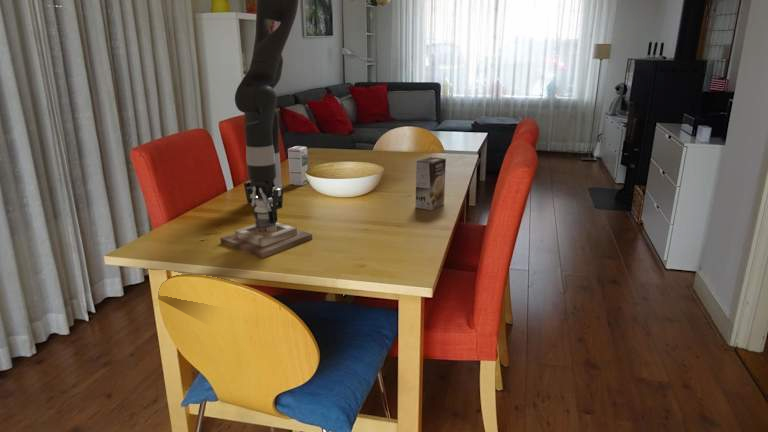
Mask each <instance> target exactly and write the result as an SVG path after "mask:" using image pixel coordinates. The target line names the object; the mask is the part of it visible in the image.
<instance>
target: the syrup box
mask: <svg viewBox="0 0 768 432" xmlns="http://www.w3.org/2000/svg"><path fill="white" fill-rule="evenodd" d="M287 155H288V169H289V170H288V171H289V172H288V173H289V183H290V185H292V184H293V186H304V185H306V184H308V183H309V182H308V181H307V178H306V176H305V172H306V171H307V170H309V171H310V169H309V156H308V147H307V146H301V145H296V146H293V147H289V148H287ZM307 182H308V183H307Z"/></svg>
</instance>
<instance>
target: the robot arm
mask: <svg viewBox="0 0 768 432" xmlns="http://www.w3.org/2000/svg"><path fill="white" fill-rule="evenodd" d="M298 6H299V0H256V16H255V17H256V18H255V37H254V46H253V51H252V57H251V61H250V66H249V69H248V71H247V72H246V73H245V75H244V77H243V78H242V80H241V81H240V83H239V85H238V86H237V88H236V90H235V93H234V103H235V106H236V108H237V110H238V111H240V112H241V113H244V116H243V117H244V121H243V122H244V136H245V149H246V150H245V159H246V160H245V161H246V169H247V179H248V180H249V181H246V182H244V183H243V187H244V192H245V197H246V202H247V204H251V206H252V207H253V209H252V210H253V211H254V209H255V207H256V206H257V205H256V201H255V200H256V199H257V198H262V199H263V200H264V203H265V204H267V207H268V210H269V211H268V213H269V223H270V224H274V223H276V222H278V210H280V209H282V208H283V203H284V202H283V200H284V188H283V185H282V171H281V170H282V169H281V156H280V117H279V112H278V109H277V103H278V98H277V97H278V96H277V93H276V91H275V90H274V88H276V86H277V85H278V84H279V82H280V80H281V77H282V71H283V64H284V58H283V54H282V53H283V51H284V49H285V46H286V43H287V41H288V39H289V36H290V34H291V30H292V27H293V25H294V22H295V20H296V15H297V12H298V8H299V7H298ZM269 20H270V21H274V22H277V23H280V24H279V25H278V26H277V28H276V29H275V30H274V31H271V28H270V21H269ZM268 198H272V199H270V200H268ZM270 202H272V205H273V206H271V203H270ZM253 216H254V218H255V213H254V212H253Z"/></svg>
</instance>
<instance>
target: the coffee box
mask: <svg viewBox="0 0 768 432" xmlns="http://www.w3.org/2000/svg"><path fill="white" fill-rule="evenodd" d="M446 161H447V159H446V158H442V157H432V156H429V157H426V158H423V159H419V160H416V162H415V163H416V171H415V208H416V209H422V210H427V211H433V210H435V209H437V208H439V207H442V206H443V205H445V194H446V193H445V190H446V189H445V188H446V187H445V186H446V167H447V166H446V164H447V163H446Z"/></svg>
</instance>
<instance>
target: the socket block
mask: <svg viewBox="0 0 768 432" xmlns="http://www.w3.org/2000/svg"><path fill="white" fill-rule="evenodd" d="M276 226H277V231H276V232H275V233H272V234H269V235H266V236H262V235H259V234H257V233H256V225H255V223H254V224H251V225H247V226H245V227H242V228H239V229H236V230H235V231H234V232H235V233H232V234H229V235H226V236H223V237H220V239H219V240H220V244H222V245H225V246H228V247H231V248H232V249H236V250H239V251H241V252H244V253H246V254H250V255H253V256H255V257H258V258H261V259H265V258H267V257H270V256H272V255H275V254H278V253H280V252H283V251H285V250H287V249H291V248H293V247H295V246H297V245H300V244H303V243H306V242H308V241H310V240H313V233H311V232H307V231H303V230H300V229H297V227H295V226H291V225H288V224H286V223H285V224H284V223H281V222H279V221H277V222H276Z"/></svg>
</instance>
